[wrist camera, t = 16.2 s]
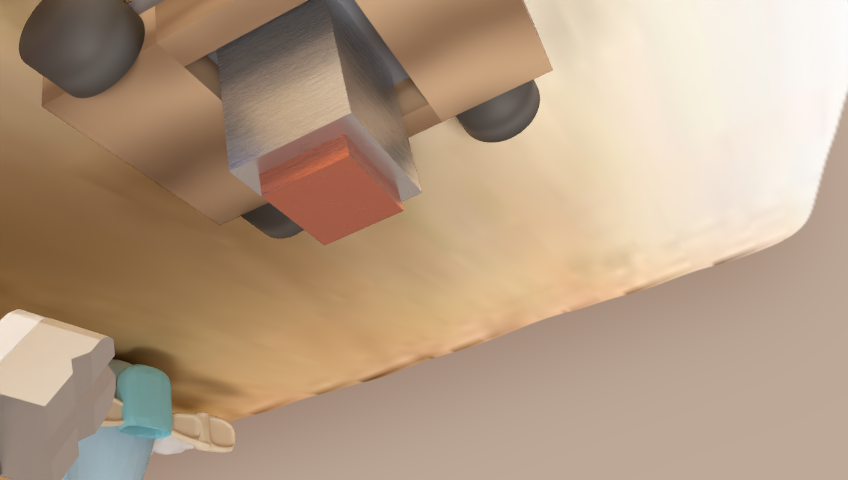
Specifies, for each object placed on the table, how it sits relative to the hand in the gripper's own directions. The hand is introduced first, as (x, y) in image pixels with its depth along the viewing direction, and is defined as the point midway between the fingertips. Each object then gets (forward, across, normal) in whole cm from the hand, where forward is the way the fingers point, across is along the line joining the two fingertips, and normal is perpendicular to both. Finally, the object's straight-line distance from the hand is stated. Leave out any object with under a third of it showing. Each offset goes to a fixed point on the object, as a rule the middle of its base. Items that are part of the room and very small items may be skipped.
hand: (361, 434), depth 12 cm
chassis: (+23, -8, -3) cm, 25 cm away
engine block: (+22, -8, -3) cm, 24 cm away
